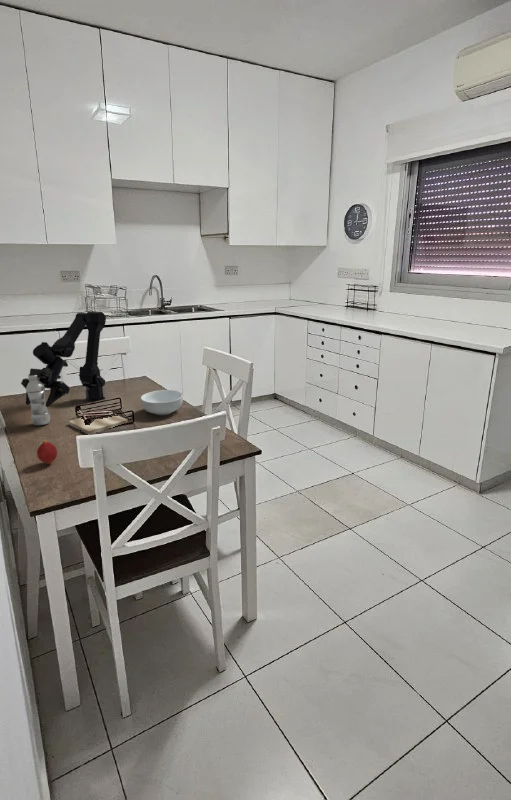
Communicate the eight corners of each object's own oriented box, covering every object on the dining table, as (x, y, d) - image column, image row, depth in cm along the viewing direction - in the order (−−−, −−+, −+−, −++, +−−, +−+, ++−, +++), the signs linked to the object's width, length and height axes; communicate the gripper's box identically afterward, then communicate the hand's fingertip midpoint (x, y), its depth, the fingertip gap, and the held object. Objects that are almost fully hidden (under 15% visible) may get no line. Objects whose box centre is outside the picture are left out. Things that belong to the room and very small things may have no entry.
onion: (42, 460, 149) (38, 437, 147) (61, 459, 150) (57, 436, 147) (36, 468, 144) (31, 444, 141) (55, 467, 144) (51, 443, 142)
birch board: (107, 414, 190) (106, 410, 190) (128, 423, 180) (127, 419, 179) (69, 424, 179) (68, 421, 179) (89, 435, 169) (88, 431, 168)
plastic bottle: (54, 422, 182) (46, 372, 176) (42, 428, 176) (33, 377, 170) (41, 420, 184) (33, 371, 178) (28, 426, 178) (19, 376, 172)
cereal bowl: (134, 412, 192) (132, 396, 189) (167, 403, 203) (165, 387, 201) (158, 422, 181) (157, 404, 178) (192, 411, 192) (191, 395, 190)
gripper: (20, 358, 180) (2, 393, 173) (60, 360, 174) (43, 397, 167) (38, 373, 189) (22, 407, 182) (76, 376, 183) (61, 411, 177)
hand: (36, 405), depth 177 cm, fingers open, 9 cm apart
